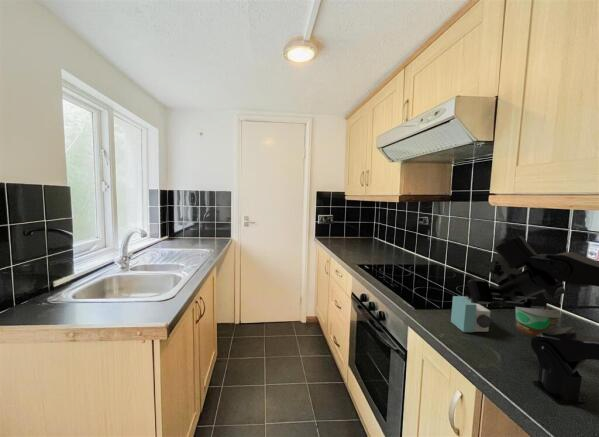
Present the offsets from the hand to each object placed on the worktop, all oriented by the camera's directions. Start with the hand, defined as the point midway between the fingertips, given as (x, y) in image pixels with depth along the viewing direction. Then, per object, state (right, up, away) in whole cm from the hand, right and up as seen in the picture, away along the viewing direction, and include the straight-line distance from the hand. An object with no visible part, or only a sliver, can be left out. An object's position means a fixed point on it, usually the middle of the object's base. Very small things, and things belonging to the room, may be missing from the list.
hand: (486, 302), depth 80 cm
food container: (+19, -13, +8) cm, 24 cm away
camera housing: (+4, -12, +15) cm, 19 cm away
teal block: (-1, -12, +11) cm, 16 cm away
